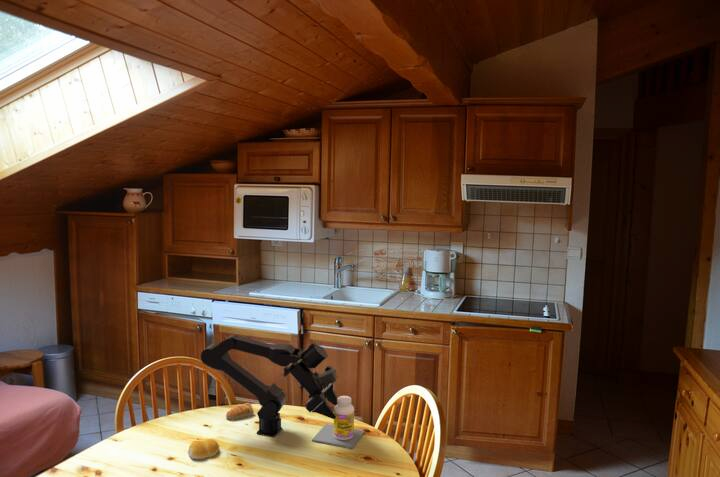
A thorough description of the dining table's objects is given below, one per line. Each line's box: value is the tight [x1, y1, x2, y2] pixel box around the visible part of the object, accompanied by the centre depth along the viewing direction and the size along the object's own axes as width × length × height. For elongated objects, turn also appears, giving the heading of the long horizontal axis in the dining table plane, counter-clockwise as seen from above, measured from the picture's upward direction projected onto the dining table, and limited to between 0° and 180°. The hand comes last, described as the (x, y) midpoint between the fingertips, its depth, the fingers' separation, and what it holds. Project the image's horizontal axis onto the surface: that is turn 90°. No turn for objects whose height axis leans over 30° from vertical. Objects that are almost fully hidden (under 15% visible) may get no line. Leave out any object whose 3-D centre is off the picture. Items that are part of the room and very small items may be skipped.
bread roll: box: [187, 438, 220, 460], centre depth 160 cm, size 8×9×4 cm
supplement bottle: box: [333, 395, 355, 440], centre depth 170 cm, size 7×7×13 cm
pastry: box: [225, 402, 254, 421], centre depth 185 cm, size 9×7×4 cm
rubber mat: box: [311, 423, 366, 450], centre depth 171 cm, size 14×12×1 cm
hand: (337, 412), depth 170 cm, fingers open, 9 cm apart
